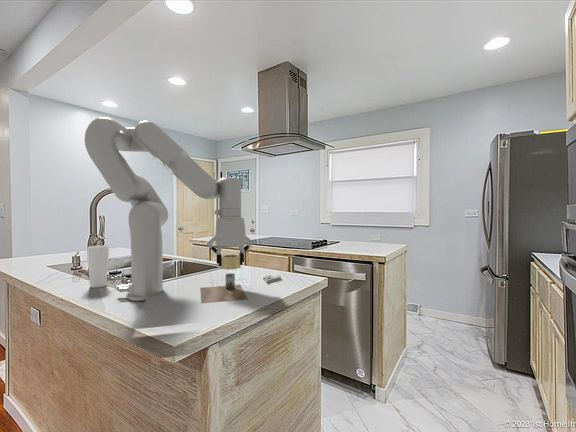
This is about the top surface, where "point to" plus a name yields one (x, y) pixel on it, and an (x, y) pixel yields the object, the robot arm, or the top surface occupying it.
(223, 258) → the brass ring
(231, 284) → the steel post
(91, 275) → the drinking glass
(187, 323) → the top surface
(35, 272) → the top surface
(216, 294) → the walnut board
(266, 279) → the adjustable wrench
